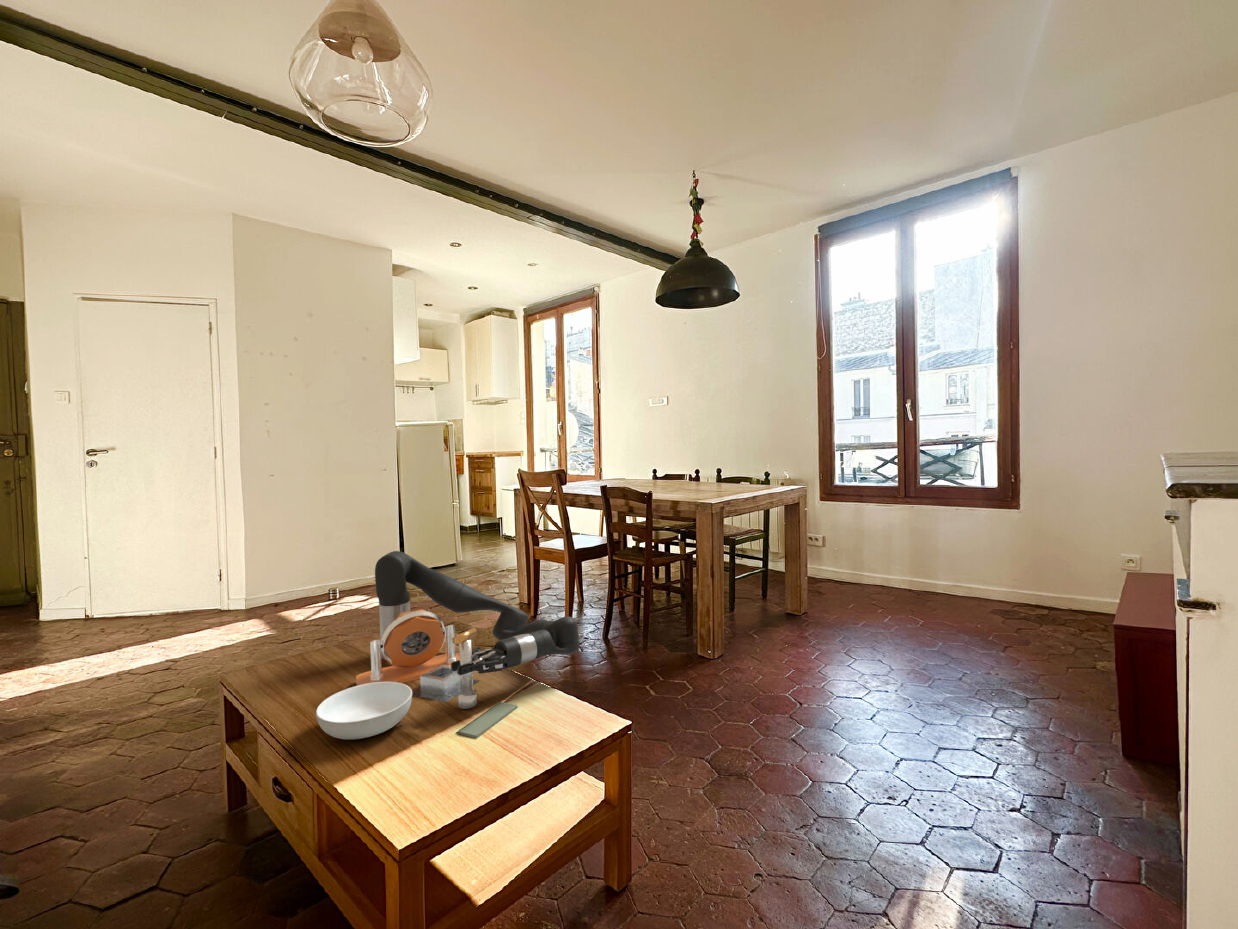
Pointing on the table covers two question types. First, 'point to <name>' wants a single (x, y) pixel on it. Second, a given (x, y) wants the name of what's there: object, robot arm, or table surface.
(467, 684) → the cylinder
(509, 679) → the table surface
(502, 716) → the rubber mat
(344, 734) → the serving bowl
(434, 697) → the chuck block
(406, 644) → the desk clock
